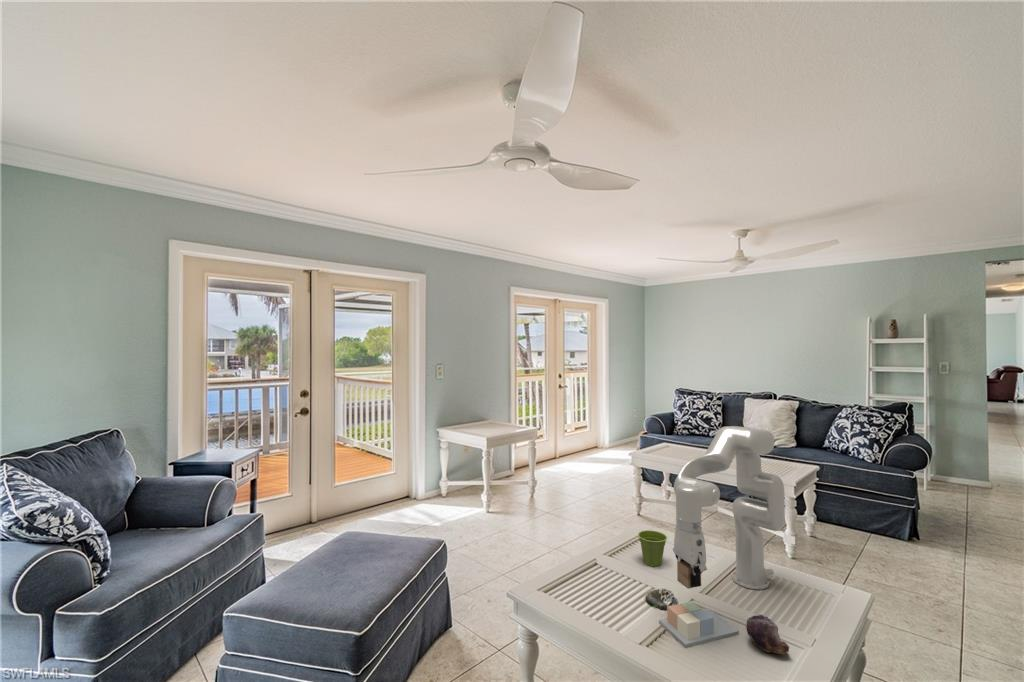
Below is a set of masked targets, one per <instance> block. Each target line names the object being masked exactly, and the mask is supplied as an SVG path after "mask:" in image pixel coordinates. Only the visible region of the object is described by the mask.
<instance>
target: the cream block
mask: <svg viewBox="0 0 1024 682" xmlns="http://www.w3.org/2000/svg"><path fill="white" fill-rule="evenodd" d="M677 631H678V632H680V633H681V634H682V635H683V636H684V637H685V638H686V639H687V640H688V639H692V638H696V637H700V620H699V619H698V618H696V617H695V616H694V615H693V614H691V613H690V612H688V613H684V614H679V615H677Z"/></svg>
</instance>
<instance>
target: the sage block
mask: <svg viewBox="0 0 1024 682" xmlns="http://www.w3.org/2000/svg"><path fill="white" fill-rule="evenodd" d="M679 604H680V605H682V606H683V607H684V608H685V609H686V610H688V611H689V612H693V611H697V610H702V609H703V608H702V607H700V606H699V605H698V604H697V603H695V602H694V601H692V600H691V601H687V602H686V601H685V602H682V603H679Z"/></svg>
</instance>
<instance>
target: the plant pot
mask: <svg viewBox="0 0 1024 682" xmlns="http://www.w3.org/2000/svg"><path fill="white" fill-rule="evenodd" d="M637 536H638V538H639V542H640V546H641V553H642V560H643V563H644V564H645V565H647V566H650V567H659V566H661V565H662V564H663V558H664V551H665V545H666V542H667V540H668V536H667V535H666V534H665V533H663V532H661V531H657V530H650V529H649V530H640V531H639V532H638V533H637Z"/></svg>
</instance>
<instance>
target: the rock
mask: <svg viewBox="0 0 1024 682" xmlns="http://www.w3.org/2000/svg"><path fill="white" fill-rule="evenodd" d="M745 624H746V626H745V627H746V628H745V629H746V632H747V634H748V636H750V638H751V639H752V642H753V643H754V644H755V646H757V647H758V648H759V649H760V650H762V651H764V652H766V653H770V652H771V653H774V654H778V655H785V654H787V653H789V651H790V650H789V649H790V646H789V645H788V644H787V643H786V642H785V641H782V639H781V638H780V637H781V636H780V634H779V628H778V625H777V624H776V622H775V621H774V620H773V619H771V618H768V616H765V615H763V614H759V615H758V614H757V615H753V616H751V617H748V618H747V620H746V623H745Z"/></svg>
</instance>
